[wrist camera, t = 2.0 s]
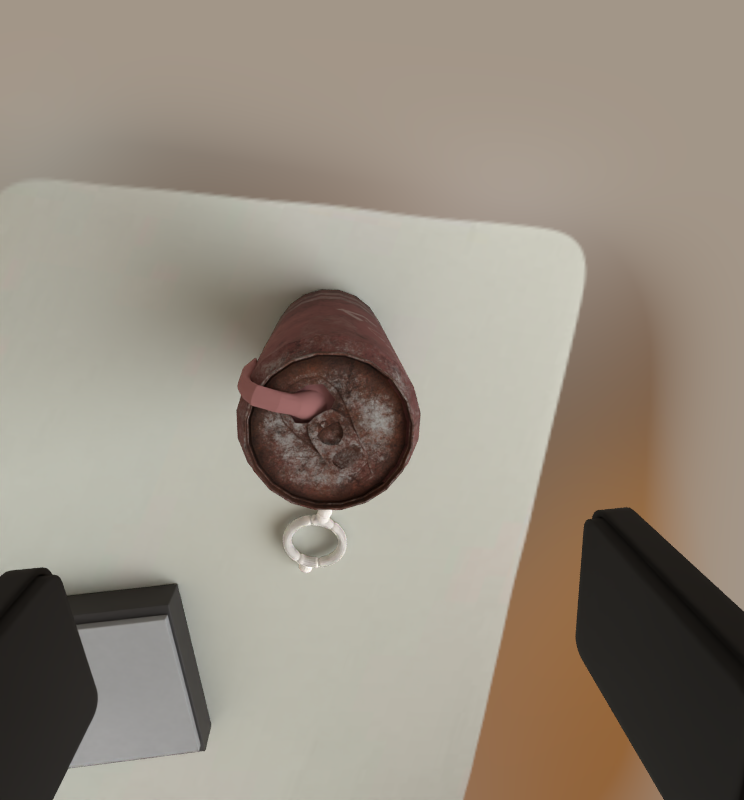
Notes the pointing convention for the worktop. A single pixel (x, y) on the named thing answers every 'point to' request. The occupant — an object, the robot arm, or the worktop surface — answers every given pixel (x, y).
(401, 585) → the worktop surface
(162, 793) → the worktop surface
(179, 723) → the scale
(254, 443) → the can
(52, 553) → the worktop surface
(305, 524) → the key
